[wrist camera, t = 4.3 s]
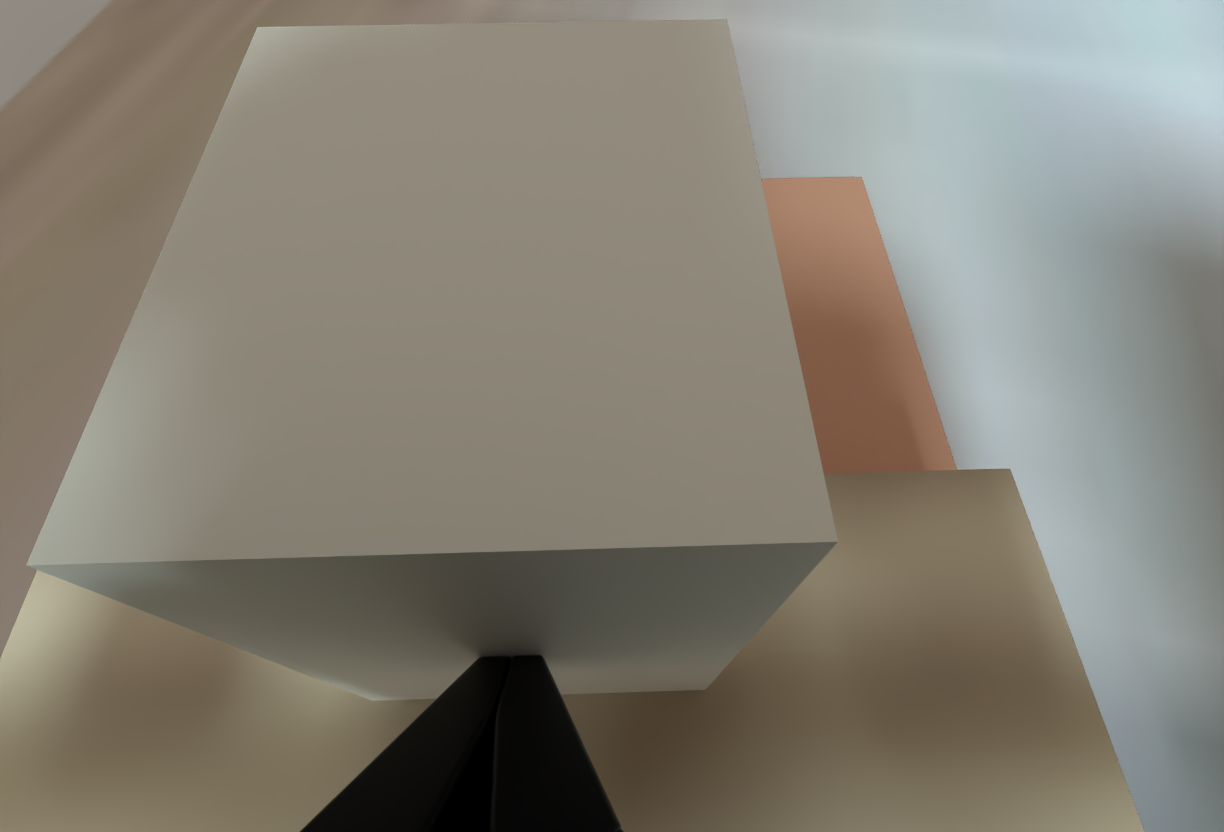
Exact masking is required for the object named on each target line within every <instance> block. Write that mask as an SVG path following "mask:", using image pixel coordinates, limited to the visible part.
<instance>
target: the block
mask: <svg viewBox="0 0 1224 832" xmlns="http://www.w3.org/2000/svg"><path fill="white" fill-rule="evenodd" d="M837 542H838V539H837V534H836V529H835V525H834V520H833V515H832V511H831V506H830V501H829V497H828V492H827V487H826V482H825V478H824V473H823V468H822V464H821V459H820V454H819V450H818V445H817V440H816V435H815V431H814V426H813V421H812V417H811V412H810V407H809V402H808V398H807V393H806V388H805V384H804V379H803V374H802V370H801V365H800V360H799V355H798V351H797V346H796V341H795V337H794V332H793V327H792V323H791V318H790V313H789V308H788V304H787V299H786V294H785V290H784V285H783V280H782V275H781V271H780V266H779V261H778V257H777V252H776V247H775V243H774V238H773V233H772V228H771V224H770V219H769V214H768V210H767V205H766V200H765V196H764V191H763V186H762V181H761V177H760V172H759V167H758V163H757V158H756V153H755V149H754V144H753V139H752V134H751V130H750V125H749V120H748V116H747V111H746V106H745V101H744V97H743V92H742V87H741V83H740V78H739V73H738V69H737V64H736V59H735V54H734V50H733V45H732V40H731V36H730V31H729V26H728V22H727V19H715V20H655V21H595V22H536V23H476V24H416V25H357V26H297V27H257V29H256V32H255V34H254V36H253V39H252V41H251V43H250V46H249V48H248V50H247V53H246V55H245V57H244V60H243V62H242V64H241V67H240V69H239V71H238V74H237V76H236V78H235V81H234V83H233V85H232V88H231V90H230V92H229V95H228V97H227V99H226V102H225V104H224V106H223V109H222V111H221V113H220V116H219V118H218V120H217V123H216V125H215V127H214V130H213V132H212V134H211V136H210V139H209V141H208V143H207V146H206V148H205V150H204V153H203V155H202V157H201V160H200V162H199V164H198V167H197V169H196V171H195V174H194V176H193V178H192V181H191V183H190V185H189V188H188V190H187V192H186V195H185V197H184V199H183V202H182V204H181V206H180V209H179V211H178V213H177V216H176V218H175V220H174V223H173V225H172V227H171V230H170V232H169V234H168V237H167V239H166V241H165V244H164V246H163V248H162V251H161V253H160V255H159V258H158V260H157V262H156V264H155V267H154V269H153V271H152V274H151V276H150V278H149V281H148V283H147V285H146V288H145V290H144V292H143V295H142V297H141V299H140V302H139V304H138V306H137V309H136V311H135V313H134V316H133V318H132V320H131V323H130V325H129V327H128V330H127V332H126V334H125V337H124V339H123V341H122V344H121V346H120V348H119V351H118V353H117V355H116V358H115V360H114V362H113V365H112V367H111V369H110V372H109V374H108V376H107V379H106V381H105V383H104V386H103V388H102V390H101V392H100V395H99V397H98V399H97V402H96V404H95V406H94V409H93V411H92V413H91V416H90V418H89V420H88V423H87V425H86V427H85V430H84V432H83V434H82V437H81V439H80V441H79V444H78V446H77V448H76V451H75V453H74V455H73V458H72V460H71V462H70V465H69V467H68V469H67V472H66V474H65V476H64V479H63V481H62V483H61V486H60V488H59V490H58V493H57V495H56V497H55V500H54V502H53V504H52V507H51V509H50V511H49V514H48V516H47V518H46V521H45V523H44V525H43V527H42V530H41V532H40V534H39V537H38V539H37V541H36V544H35V546H34V548H33V551H32V553H31V555H30V558H29V560H28V562H27V565H26V566H29V567H31V568H34V569H37V570H39V571H42V572H44V573H47V574H49V575H52V576H54V577H57V578H60V579H62V580H65V581H67V582H70V583H72V584H75V585H77V586H80V587H83V588H85V589H88V590H90V591H93V592H95V593H98V594H101V595H103V596H106V597H108V598H111V599H113V600H116V601H118V602H121V603H124V604H126V605H129V606H131V607H134V608H136V609H139V610H141V611H144V612H147V613H149V614H152V615H154V616H157V617H159V618H162V619H164V620H167V621H170V622H172V623H175V624H177V625H180V626H182V627H185V628H187V629H190V630H193V631H195V632H198V633H200V634H203V635H205V636H208V637H211V638H213V639H216V640H218V641H221V642H223V643H226V644H228V645H231V646H234V647H236V648H239V649H241V650H244V651H246V652H249V653H251V654H254V655H257V656H259V657H262V658H264V659H267V660H269V661H272V662H274V663H277V664H280V665H282V666H285V667H287V668H290V669H292V670H295V671H297V672H300V673H303V674H305V675H308V676H310V677H313V678H315V679H318V680H321V681H323V682H326V683H328V684H331V685H333V686H336V687H338V688H341V689H344V690H346V691H349V692H351V693H354V694H356V695H359V696H361V697H364V698H367V699H369V700H372V701H380V700H411V699H437V698H438V697H439V696H440V695H441V694H442V693H443V692H444V691H445V690H446V689H447V688H448V687H449V686H450V685H451V684H452V683H453V682H454V681H455V680H456V679H457V678H458V677H459V676H460V675H461V674H462V673H463V672H464V671H465V670H466V669H468V668H469V667H470V666H471V665H472V664H473V663H474V662H475V661H476V660H477V659H478V658H480V657H488V656H508V657H510V659H512V657H514V656H519V655H542V656H543V657H544V659H545V661H546V663H547V665H548V668H549V670H550V672H551V674H552V676H553V679H554V681H555V683H556V685H557V687H558V689H559V692H560V694H561V695H564V694H594V693H625V692H656V691H686V690H706V689H707V688H708V686H709V685H710V684H711V683H712V682H713V681H714V680H715V679H716V678H717V676H718V675H719V674H720V673H721V672H722V671H723V670H724V669H725V667H726V666H727V665H728V664H729V663H730V662H731V661H732V660H733V659H734V657H735V656H736V655H737V654H738V653H739V652H740V651H741V650H742V648H743V647H744V646H745V645H746V644H747V643H748V642H749V641H750V640H751V638H752V637H753V636H754V635H755V634H756V633H757V632H758V631H759V630H760V628H761V627H762V626H763V625H764V624H765V623H766V622H767V621H768V619H769V618H770V617H771V616H772V615H773V614H774V613H775V612H776V611H777V609H778V608H779V607H780V606H781V605H782V604H783V603H784V602H785V600H786V599H787V598H788V597H789V596H790V595H791V594H792V593H793V592H794V590H795V589H796V588H797V587H798V586H799V585H800V584H801V583H802V581H803V580H804V579H805V578H806V577H807V576H808V575H809V574H810V573H811V571H812V570H813V569H814V568H815V567H816V566H817V565H818V564H819V563H820V561H821V560H822V559H823V558H824V557H825V556H826V555H827V554H828V552H829V551H830V550H831V549H832V548H833V547H834V546H835V545H836V544H837Z"/></svg>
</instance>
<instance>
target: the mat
mask: <svg viewBox="0 0 1224 832" xmlns="http://www.w3.org/2000/svg"><path fill="white" fill-rule="evenodd" d="M761 181H762V186H763V191H764V196H765V200H766V205H767V210H768V214H769V219H770V224H771V228H772V233H773V238H774V243H775V247H776V252H777V257H778V261H779V266H780V271H781V275H782V280H783V285H784V290H785V294H786V299H787V304H788V308H789V313H790V318H791V323H792V327H793V332H794V337H795V341H796V346H797V351H798V355H799V360H800V365H801V370H802V374H803V379H804V384H805V388H806V393H807V398H808V402H809V407H810V412H811V417H812V421H813V426H814V431H815V435H816V440H817V445H818V450H819V454H820V459H821V464H822V468H823V473H824V474H832V473H868V472H905V471H942V470H957V469H956V466H955V463H954V459H953V456H952V453H951V450H950V447H949V444H948V441H947V438H946V435H945V432H944V429H943V426H942V423H941V419H940V416H939V413H938V410H937V407H936V404H935V401H934V398H933V395H932V392H931V389H930V386H929V383H928V380H927V376H926V373H925V370H924V367H923V364H922V361H921V358H920V355H919V352H918V349H917V346H916V343H915V340H914V336H913V333H912V330H911V327H910V324H909V321H908V318H907V315H906V312H905V309H904V306H903V303H902V300H901V296H900V293H899V290H898V287H897V284H896V281H895V278H894V275H893V272H892V269H891V266H890V263H889V260H888V256H887V253H886V250H885V247H884V244H883V241H882V238H881V235H880V232H879V229H878V226H877V223H876V220H875V217H874V213H873V210H872V207H871V204H870V201H869V198H868V195H867V192H866V189H865V186H864V183H863V180H862V177H828V178H779V179H761Z"/></svg>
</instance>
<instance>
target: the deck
mask: <svg viewBox="0 0 1224 832" xmlns="http://www.w3.org/2000/svg"><path fill="white" fill-rule="evenodd" d="M824 478H825V482H826V487H827V492H828V497H829V501H830V506H831V511H832V515H833V520H834V525H835V529H836V534H837V539H838V542H837V544H836V545H835V546H834V547H833V548H832V549H831V550H830V551H829V552H828V554H827V555H826V556H825V557H824V558H823V559H822V560H821V561H820V563H819V564H818V565H817V566H816V567H815V568H814V569H813V570H812V571H811V573H810V574H809V575H808V576H807V577H806V578H805V579H804V580H803V581H802V583H801V584H800V585H799V586H798V587H797V588H796V589H795V590H794V592H793V593H792V594H791V595H790V596H789V597H788V598H787V599H786V600H785V602H784V603H783V604H782V605H781V606H780V607H779V608H778V609H777V611H776V612H775V613H774V614H773V615H772V616H771V617H770V618H769V619H768V621H767V622H766V623H765V624H764V625H763V626H762V627H761V628H760V630H759V631H758V632H757V633H756V634H755V635H754V636H753V637H752V638H751V640H750V641H749V642H748V643H747V644H746V645H745V646H744V647H743V648H742V650H741V651H740V652H739V653H738V654H737V655H736V656H735V657H734V659H733V660H732V661H731V662H730V663H729V664H728V665H727V666H726V667H725V669H724V670H723V671H722V672H721V673H720V674H719V675H718V676H717V678H716V679H715V680H714V681H713V682H712V683H711V684H710V685H709V686H708V688H707V689H706V690H686V691H656V692H625V693H594V694H564V695H561V696H562V698H563V700H564V702H565V705H566V707H567V709H568V711H569V713H570V715H571V718H572V720H573V722H574V724H575V726H576V729H577V731H578V733H579V735H580V737H581V739H582V742H583V744H584V746H585V748H586V750H587V752H588V755H589V757H590V759H591V761H592V763H593V765H594V768H595V770H596V772H597V774H598V776H599V779H600V781H601V783H602V785H603V787H604V789H605V792H606V794H607V796H608V798H609V800H610V802H611V805H612V807H613V809H614V811H615V813H616V816H617V818H618V820H619V822H620V824H621V829H622V830H623V831H624V832H1144V829H1143V826H1142V824H1141V821H1140V818H1139V816H1138V813H1137V810H1136V808H1135V805H1134V802H1133V799H1132V797H1131V794H1130V791H1129V789H1128V786H1127V783H1126V781H1125V778H1124V775H1123V772H1122V770H1121V767H1120V764H1119V762H1118V759H1117V756H1116V754H1115V751H1114V748H1113V745H1112V743H1111V740H1110V737H1109V735H1108V732H1107V729H1106V727H1105V724H1104V721H1103V718H1102V716H1101V713H1100V710H1099V708H1098V705H1097V702H1096V700H1095V697H1094V694H1093V692H1092V689H1091V686H1090V683H1089V681H1088V678H1087V675H1086V673H1085V670H1084V667H1083V665H1082V662H1081V659H1080V656H1079V654H1078V651H1077V648H1076V646H1075V643H1074V640H1073V638H1072V635H1071V632H1070V629H1069V627H1068V624H1067V621H1066V619H1065V616H1064V613H1063V611H1062V608H1061V605H1060V602H1059V600H1058V597H1057V594H1056V592H1055V589H1054V586H1053V584H1052V581H1051V578H1050V575H1049V573H1048V570H1047V567H1046V565H1045V562H1044V559H1043V557H1042V554H1041V551H1040V548H1039V546H1038V543H1037V540H1036V538H1035V535H1034V532H1033V530H1032V527H1031V524H1030V521H1029V519H1028V516H1027V513H1026V511H1025V508H1024V505H1023V503H1022V500H1021V497H1020V494H1019V492H1018V489H1017V486H1016V484H1015V481H1014V478H1013V476H1012V473H1011V470H1010V469H978V470H942V471H905V472H868V473H832V474H824ZM435 700H436V699H411V700H380V701H372V700H369V699H367V698H364V697H361V696H359V695H356V694H354V693H351V692H349V691H346V690H344V689H341V688H338V687H336V686H333V685H331V684H328V683H326V682H323V681H321V680H318V679H315V678H313V677H310V676H308V675H305V674H303V673H300V672H297V671H295V670H292V669H290V668H287V667H285V666H282V665H280V664H277V663H274V662H272V661H269V660H267V659H264V658H262V657H259V656H257V655H254V654H251V653H249V652H246V651H244V650H241V649H239V648H236V647H234V646H231V645H228V644H226V643H223V642H221V641H218V640H216V639H213V638H211V637H208V636H205V635H203V634H200V633H198V632H195V631H193V630H190V629H187V628H185V627H182V626H180V625H177V624H175V623H172V622H170V621H167V620H164V619H162V618H159V617H157V616H154V615H152V614H149V613H147V612H144V611H141V610H139V609H136V608H134V607H131V606H129V605H126V604H124V603H121V602H118V601H116V600H113V599H111V598H108V597H106V596H103V595H101V594H98V593H95V592H93V591H90V590H88V589H85V588H83V587H80V586H77V585H75V584H72V583H70V582H67V581H65V580H62V579H60V578H57V577H54V576H52V575H49V574H47V573H44V572H42V571H39V570H37V572H36V575H35V577H34V579H33V582H32V584H31V587H30V589H29V591H28V594H27V596H26V599H25V601H24V603H23V606H22V608H21V611H20V613H19V615H18V618H17V620H16V622H15V625H14V627H13V630H12V632H11V634H10V637H9V639H8V642H7V644H6V646H5V649H4V651H3V654H2V656H1V658H0V832H300V831H301V830H302V829H303V828H304V827H305V826H306V825H307V824H308V823H309V822H310V821H311V820H312V819H313V818H314V817H315V816H316V815H317V814H318V813H319V812H320V811H321V810H322V809H323V808H324V807H325V806H326V805H327V804H328V803H329V802H330V801H331V800H332V799H334V798H335V797H336V796H337V795H338V794H339V793H340V792H341V791H342V790H343V789H344V788H345V787H346V786H347V785H348V784H349V783H350V782H351V781H352V780H353V779H354V778H355V777H356V776H357V775H358V774H359V773H360V772H361V771H362V770H363V769H364V768H365V767H367V766H368V765H369V764H370V763H371V762H372V761H373V760H374V759H375V758H376V757H377V756H378V755H379V754H380V753H381V752H382V751H383V750H384V749H385V748H386V747H387V746H388V745H389V744H390V743H391V742H392V741H393V740H394V739H395V738H396V737H397V736H398V735H399V734H401V733H402V732H403V731H404V730H405V729H406V728H407V727H408V726H409V725H410V724H411V723H412V722H413V721H414V720H415V719H416V718H417V717H418V716H419V715H420V714H421V713H422V712H423V711H424V710H425V709H426V708H427V707H428V706H429V705H430V704H431V703H432V702H434V701H435Z"/></svg>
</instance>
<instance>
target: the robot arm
mask: <svg viewBox="0 0 1224 832" xmlns="http://www.w3.org/2000/svg"><path fill="white" fill-rule="evenodd" d="M300 832H624V831H623V830H622V829H621V824H620V822H619V820H618V818H617V816H616V813H615V811H614V809H613V807H612V805H611V802H610V800H609V798H608V796H607V794H606V792H605V789H604V787H603V785H602V783H601V781H600V779H599V776H598V774H597V772H596V770H595V768H594V765H593V763H592V761H591V759H590V757H589V755H588V752H587V750H586V748H585V746H584V744H583V742H582V739H581V737H580V735H579V733H578V731H577V729H576V726H575V724H574V722H573V720H572V718H571V715H570V713H569V711H568V709H567V707H566V705H565V702H564V700H563V698H562V696H561V694H560V692H559V689H558V687H557V685H556V683H555V681H554V679H553V676H552V674H551V672H550V670H549V668H548V665H547V663H546V661H545V659H544V657H543V656H542V655H519V656H514V657H512V659H510V657H508V656H488V657H480V658H478V659H477V660H476V661H475V662H474V663H473V664H472V665H471V666H470V667H469V668H468V669H466V670H465V671H464V672H463V673H462V674H461V675H460V676H459V677H458V678H457V679H456V680H455V681H454V682H453V683H452V684H451V685H450V686H449V687H448V688H447V689H446V690H445V691H444V692H443V693H442V694H441V695H440V696H439V697H438V698H437V699H436V700H435V701H434V702H432V703H431V704H430V705H429V706H428V707H427V708H426V709H425V710H424V711H423V712H422V713H421V714H420V715H419V716H418V717H417V718H416V719H415V720H414V721H413V722H412V723H411V724H410V725H409V726H408V727H407V728H406V729H405V730H404V731H403V732H402V733H401V734H399V735H398V736H397V737H396V738H395V739H394V740H393V741H392V742H391V743H390V744H389V745H388V746H387V747H386V748H385V749H384V750H383V751H382V752H381V753H380V754H379V755H378V756H377V757H376V758H375V759H374V760H373V761H372V762H371V763H370V764H369V765H368V766H367V767H365V768H364V769H363V770H362V771H361V772H360V773H359V774H358V775H357V776H356V777H355V778H354V779H353V780H352V781H351V782H350V783H349V784H348V785H347V786H346V787H345V788H344V789H343V790H342V791H341V792H340V793H339V794H338V795H337V796H336V797H335V798H334V799H332V800H331V801H330V802H329V803H328V804H327V805H326V806H325V807H324V808H323V809H322V810H321V811H320V812H319V813H318V814H317V815H316V816H315V817H314V818H313V819H312V820H311V821H310V822H309V823H308V824H307V825H306V826H305V827H304V828H303V829H302V830H301V831H300Z"/></svg>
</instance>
